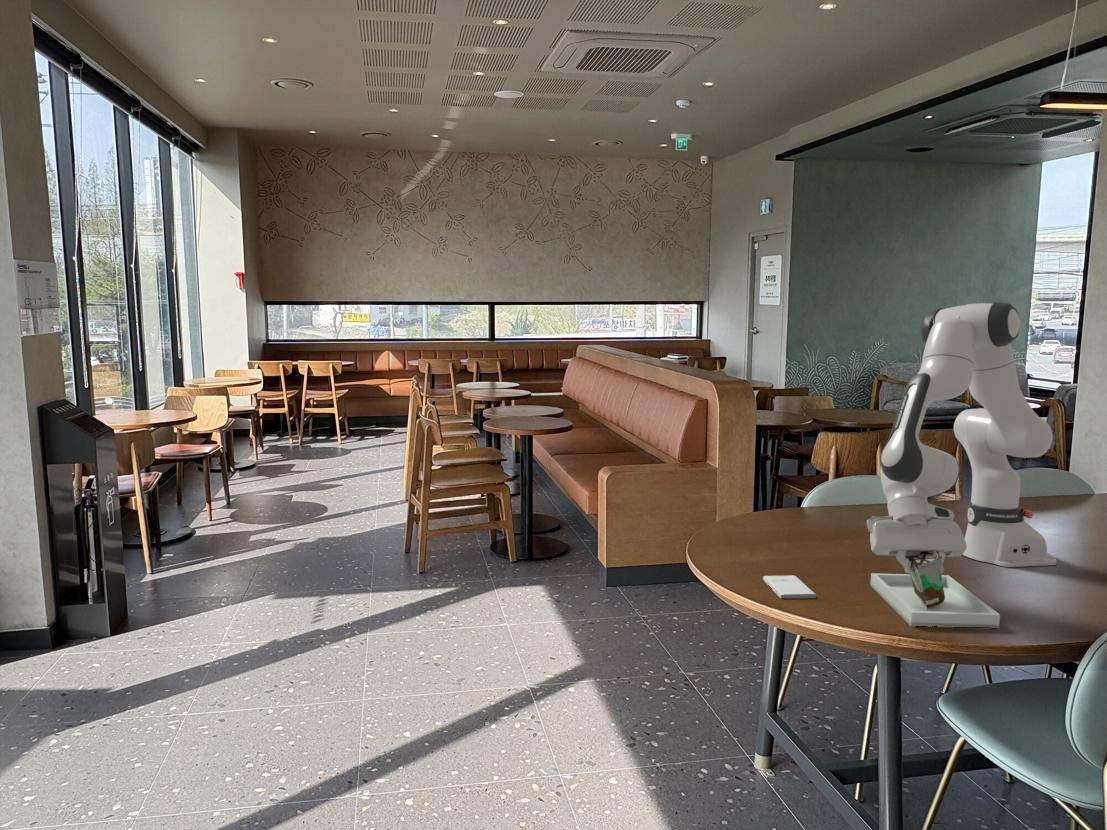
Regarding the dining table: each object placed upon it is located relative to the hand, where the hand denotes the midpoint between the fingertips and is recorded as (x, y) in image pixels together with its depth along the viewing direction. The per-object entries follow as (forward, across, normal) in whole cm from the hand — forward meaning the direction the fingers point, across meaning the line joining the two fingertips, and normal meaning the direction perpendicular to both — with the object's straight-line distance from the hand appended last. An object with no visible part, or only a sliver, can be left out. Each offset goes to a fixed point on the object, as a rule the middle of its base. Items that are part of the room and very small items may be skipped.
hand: (924, 572), depth 176 cm
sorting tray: (+5, +2, +6) cm, 8 cm away
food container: (+4, +3, +4) cm, 7 cm away
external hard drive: (0, -27, +13) cm, 30 cm away
